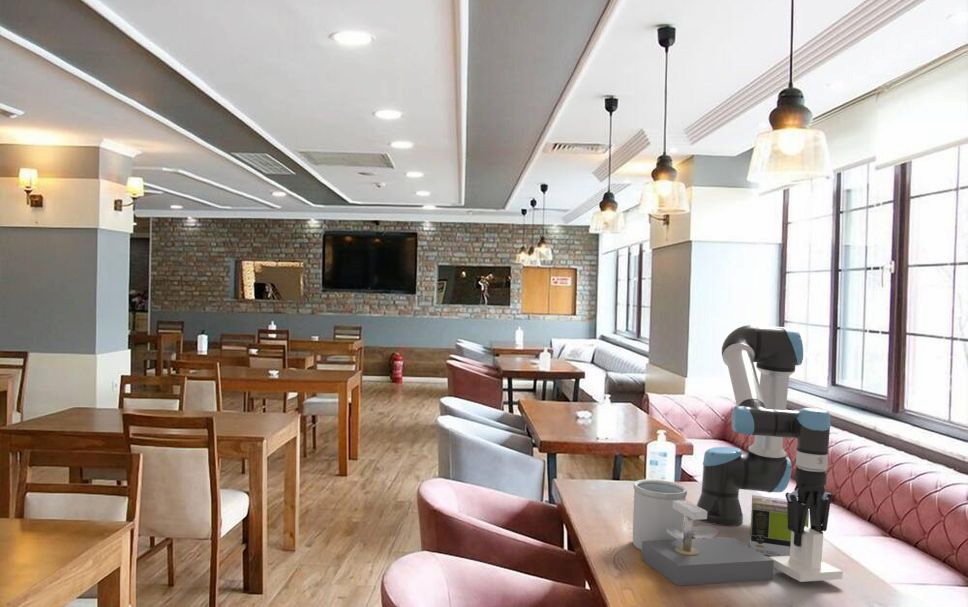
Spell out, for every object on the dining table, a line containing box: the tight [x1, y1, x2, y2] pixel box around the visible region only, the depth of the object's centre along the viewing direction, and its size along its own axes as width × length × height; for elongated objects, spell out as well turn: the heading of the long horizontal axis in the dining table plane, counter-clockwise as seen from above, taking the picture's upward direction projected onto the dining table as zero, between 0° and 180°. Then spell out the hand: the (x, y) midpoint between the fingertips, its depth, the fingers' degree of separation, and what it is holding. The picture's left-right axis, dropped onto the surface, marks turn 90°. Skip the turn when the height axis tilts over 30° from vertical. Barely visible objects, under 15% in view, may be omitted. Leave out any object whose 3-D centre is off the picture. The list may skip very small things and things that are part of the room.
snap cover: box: [768, 526, 843, 583], centre depth 192 cm, size 13×12×11 cm
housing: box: [640, 536, 774, 587], centre depth 195 cm, size 28×18×5 cm, turn 107°
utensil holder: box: [632, 478, 688, 551], centre depth 211 cm, size 15×15×18 cm
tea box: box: [749, 495, 810, 557], centre depth 212 cm, size 15×10×15 cm, turn 71°
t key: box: [666, 499, 707, 551], centre depth 194 cm, size 14×4×12 cm, turn 17°
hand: (805, 557), depth 192 cm, fingers closed on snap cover, 3 cm apart
